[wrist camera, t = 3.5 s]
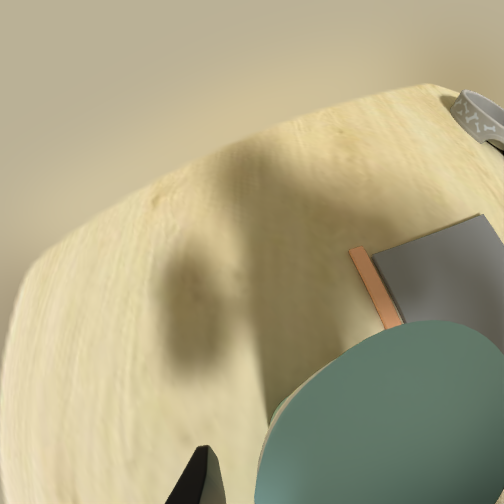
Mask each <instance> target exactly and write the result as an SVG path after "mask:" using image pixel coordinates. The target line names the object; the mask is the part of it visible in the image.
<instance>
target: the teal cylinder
mask: <svg viewBox="0 0 504 504" xmlns="http://www.w3.org/2000/svg"><path fill="white" fill-rule="evenodd" d="M503 489H504V355H503V354H502V352H501V351H500V350H499V349H498V348H497V346H496V345H495V344H493V343H492V342H491V341H490V340H489V339H488V338H487V337H485V336H484V335H482V334H481V333H479V332H478V331H476V330H474V329H471V328H469V327H467V326H465V325H462V324H458V323H454V322H450V321H440V320H427V321H416V322H411V323H406V324H401V325H398V326H395V327H392V328H389V329H386V330H384V331H382V332H380V333H377V334H375V335H373V336H371V337H369V338H367V339H365V340H363V341H362V342H360V343H359V344H357V345H355V346H354V347H352V348H350V349H349V350H347V351H346V352H345V353H343V354H342V355H341V356H340V357H338V358H336V359H334V360H333V361H331V362H329V363H328V364H327V365H325V366H324V367H322V368H321V369H320V370H318V371H317V372H315V373H314V374H313V375H312V376H311V377H310V378H308V379H307V380H306V381H305V382H304V383H303V384H301V385H300V386H299V387H298V388H297V389H296V390H295V391H294V392H293V393H292V394H290V395H289V396H288V397H286V398H285V399H284V400H283V401H282V402H281V403H280V404H279V405H278V407H277V408H276V410H275V412H274V413H273V416H272V418H271V422H270V426H269V429H268V431H267V434H266V436H265V440H264V443H263V446H262V450H261V454H260V457H259V462H258V470H257V480H256V488H255V495H254V499H255V504H495V503H496V501H497V500H498V498H499V496H500V495H501V493H502V491H503Z"/></svg>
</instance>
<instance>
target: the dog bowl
mask: <svg viewBox="0 0 504 504" xmlns="http://www.w3.org/2000/svg"><path fill="white" fill-rule="evenodd" d="M450 112H451V115H452V116H453V118H454V119H455V121H456V122H457V123H458V124H459V125H460V126H461V127H462V128H463V129H464V130H465V131H466V132H467V133H468V134H469V135H470V136H472V137H473V138H474V139H475V140H476V141H477V142H479V143H483V142H484V141H486V140H487V141H489V142H490V143H491V144H493V145H494V146H496V147H497V148H499V149H501V150H502V151H504V109H503V108H501V107H500V106H499V105H497V104H496V103H494V102H493V101H491V100H489V99H488V98H485V97H484V96H482V95H480V94H478V93H476V92H473V91H470V90H462V91H461V93H460V95H459V96H458V98H457V100H456V101H455V103H454V104H453V106H452V107H451V108H450Z"/></svg>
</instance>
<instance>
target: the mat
mask: <svg viewBox="0 0 504 504" xmlns="http://www.w3.org/2000/svg"><path fill="white" fill-rule="evenodd" d="M372 259H373V261H374V263H375V265H376V267H377V269H378V270H379V272H380V274H381V276H382V278H383V280H384V282H385V284H386V286H387V288H388V290H389V292H390V294H391V296H392V298H393V300H394V302H395V304H396V307H397V309H398V311H399V313H400V315H401V317H402V320H403V322H404V324H406V323H411V322H416V321H427V320H440V321H450V322H454V323H458V324H462V325H465V326H467V327H469V328H471V329H474V330H476V331H478V332H479V333H481V334H482V335H484V336H485V337H487V338H488V339H489V340H490V341H491V342H492V343H493V344H495V345H496V346H497V348H498V349H499V350H500V351H501V352H502V354H503V355H504V245H503V243H502V242H501V240H500V238H499V237H498V235H497V234H496V232H495V231H494V229H493V228H492V226H491V225H490V223H489V222H488V220H487V219H486V217H485V216H484V214H482V215H480V216H477V217H475V218H472V219H470V220H467V221H465V222H462V223H459V224H457V225H454V226H452V227H449V228H446V229H444V230H441V231H438V232H436V233H433V234H430V235H427V236H425V237H422V238H419V239H416V240H414V241H411V242H408V243H405V244H402V245H399V246H396V247H394V248H391V249H388V250H385V251H382V252H379V253H376V254H373V255H372Z"/></svg>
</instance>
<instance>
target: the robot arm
mask: <svg viewBox="0 0 504 504" xmlns="http://www.w3.org/2000/svg"><path fill="white" fill-rule="evenodd" d="M165 504H226V498H225V491H224V486H223V481H222V477H221V472H220V467H219V462H218V458H217V456H216V455H215V453H214V452H213V450H212V449H211V447H210V446H209V445H203V446H198V447H197V448H196V450H195V452H194V453H193V455H192V457H191V459H190V461H189V462H188V464H187V466H186V468H185V469H184V471H183V473H182V475H181V477H180V478H179V480H178V482H177V483H176V485H175V487H174V489H173V490H172V492H171V494H170V495H169V497H168V499H167V501H166V502H165Z"/></svg>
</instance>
